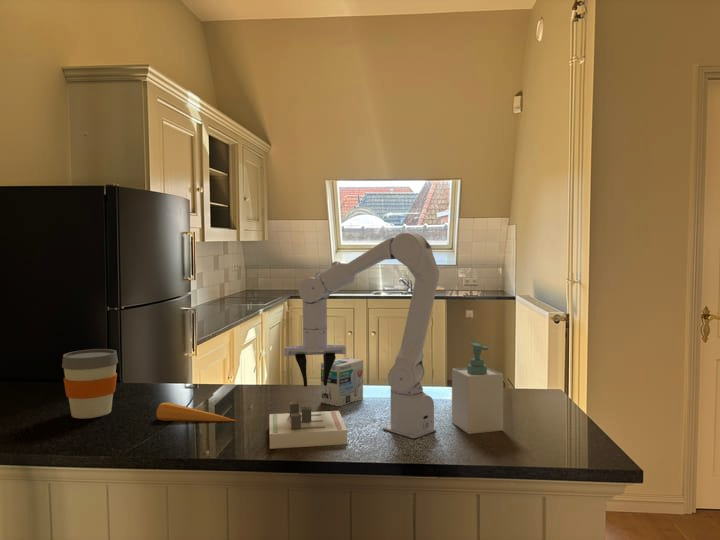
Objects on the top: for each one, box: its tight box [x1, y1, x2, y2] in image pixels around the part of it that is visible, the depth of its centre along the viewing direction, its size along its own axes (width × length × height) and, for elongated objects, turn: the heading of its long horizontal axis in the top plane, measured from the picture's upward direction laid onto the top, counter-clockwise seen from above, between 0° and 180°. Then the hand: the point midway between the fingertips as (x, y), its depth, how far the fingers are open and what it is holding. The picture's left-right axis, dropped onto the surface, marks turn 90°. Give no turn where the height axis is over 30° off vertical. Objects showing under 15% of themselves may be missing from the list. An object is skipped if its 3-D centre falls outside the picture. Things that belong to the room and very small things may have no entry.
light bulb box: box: [320, 356, 364, 407], centre depth 149 cm, size 11×7×11 cm, turn 143°
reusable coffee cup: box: [61, 348, 119, 419], centre depth 138 cm, size 13×13×15 cm
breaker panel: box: [268, 401, 348, 450], centre depth 121 cm, size 16×14×6 cm
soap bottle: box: [451, 342, 504, 435], centre depth 127 cm, size 9×9×19 cm
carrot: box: [155, 401, 237, 422], centre depth 133 cm, size 20×4×4 cm, turn 85°
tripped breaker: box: [301, 406, 312, 422], centre depth 121 cm, size 2×2×3 cm
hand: (315, 385), depth 132 cm, fingers open, 4 cm apart
